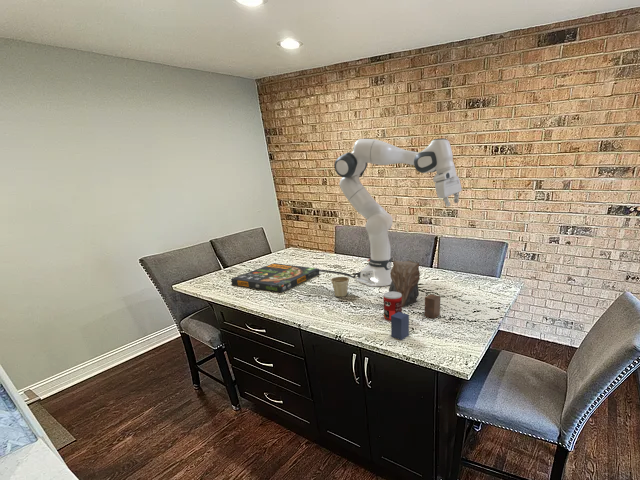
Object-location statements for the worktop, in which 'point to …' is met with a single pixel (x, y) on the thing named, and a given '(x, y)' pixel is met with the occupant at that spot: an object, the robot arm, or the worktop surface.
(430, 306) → the walnut block
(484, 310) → the worktop surface
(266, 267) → the pizza box
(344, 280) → the flower pot
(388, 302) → the canned food
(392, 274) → the owl
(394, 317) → the blue block
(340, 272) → the robot arm
